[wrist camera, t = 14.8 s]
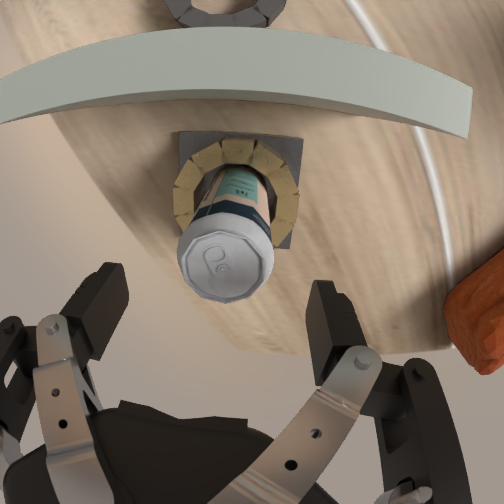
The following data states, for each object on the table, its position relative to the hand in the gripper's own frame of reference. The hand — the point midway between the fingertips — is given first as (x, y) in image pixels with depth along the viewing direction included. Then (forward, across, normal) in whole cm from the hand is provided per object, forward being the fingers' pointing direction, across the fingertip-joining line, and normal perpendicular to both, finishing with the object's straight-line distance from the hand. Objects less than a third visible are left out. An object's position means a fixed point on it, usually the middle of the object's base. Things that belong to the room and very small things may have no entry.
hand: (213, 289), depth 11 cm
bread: (+15, -40, +7) cm, 44 cm away
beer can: (+14, 0, 0) cm, 14 cm away
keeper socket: (+15, 0, 0) cm, 15 cm away
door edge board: (+15, +1, -9) cm, 17 cm away
